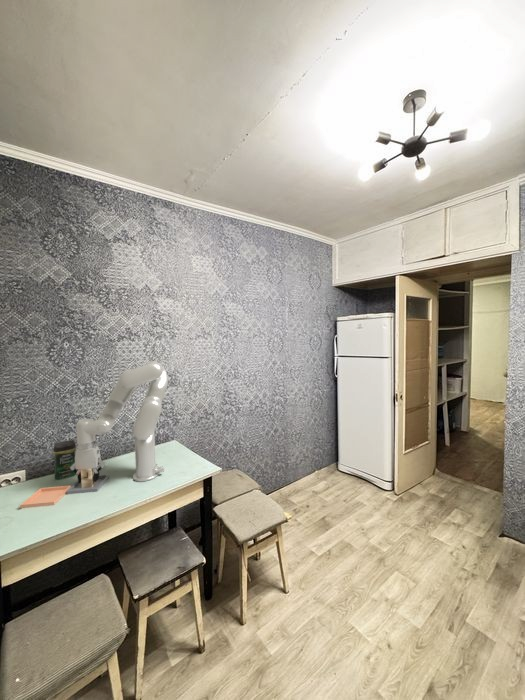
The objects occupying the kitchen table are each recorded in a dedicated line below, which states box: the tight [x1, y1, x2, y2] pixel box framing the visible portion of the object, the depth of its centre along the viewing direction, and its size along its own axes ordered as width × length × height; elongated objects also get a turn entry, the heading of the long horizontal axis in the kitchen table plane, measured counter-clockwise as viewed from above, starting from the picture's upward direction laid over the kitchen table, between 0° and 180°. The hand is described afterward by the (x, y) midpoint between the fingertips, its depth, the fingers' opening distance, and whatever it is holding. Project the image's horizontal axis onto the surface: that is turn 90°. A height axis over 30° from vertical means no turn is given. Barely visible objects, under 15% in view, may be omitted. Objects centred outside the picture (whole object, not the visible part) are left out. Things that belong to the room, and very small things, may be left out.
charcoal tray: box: [66, 474, 110, 495], centre depth 134 cm, size 13×13×2 cm
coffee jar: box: [53, 439, 77, 481], centre depth 144 cm, size 10×8×19 cm
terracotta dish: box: [19, 485, 72, 510], centre depth 124 cm, size 13×13×2 cm
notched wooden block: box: [81, 469, 96, 488], centre depth 134 cm, size 4×5×9 cm
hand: (88, 480), depth 134 cm, fingers open, 6 cm apart
